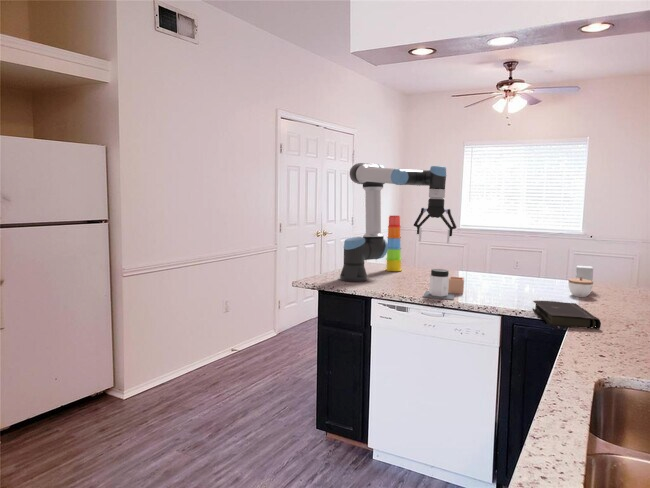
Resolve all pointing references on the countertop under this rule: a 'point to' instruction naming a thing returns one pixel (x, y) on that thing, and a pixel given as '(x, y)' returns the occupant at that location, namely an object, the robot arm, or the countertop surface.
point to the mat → (428, 295)
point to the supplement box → (584, 272)
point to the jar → (439, 282)
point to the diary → (565, 314)
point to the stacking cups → (394, 244)
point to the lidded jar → (580, 286)
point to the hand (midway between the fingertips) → (433, 242)
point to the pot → (456, 285)
